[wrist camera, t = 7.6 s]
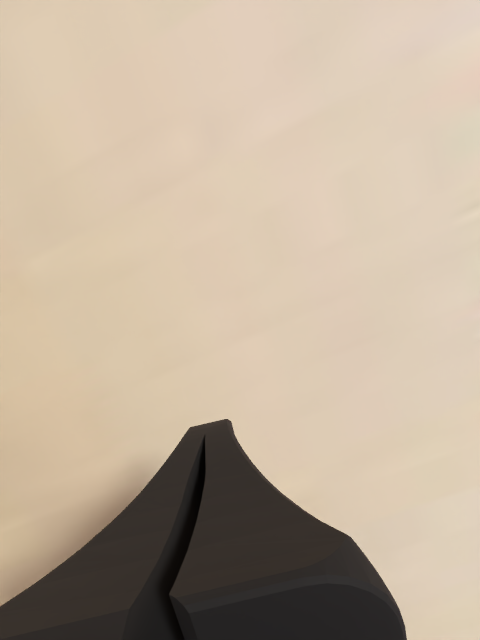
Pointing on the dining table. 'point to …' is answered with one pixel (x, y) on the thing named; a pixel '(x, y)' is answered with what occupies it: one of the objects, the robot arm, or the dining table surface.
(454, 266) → the dining table surface
